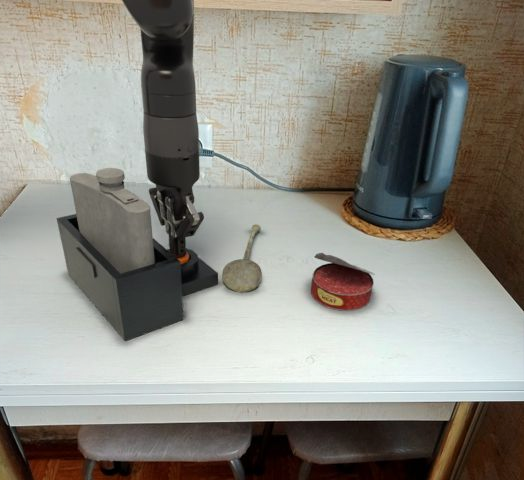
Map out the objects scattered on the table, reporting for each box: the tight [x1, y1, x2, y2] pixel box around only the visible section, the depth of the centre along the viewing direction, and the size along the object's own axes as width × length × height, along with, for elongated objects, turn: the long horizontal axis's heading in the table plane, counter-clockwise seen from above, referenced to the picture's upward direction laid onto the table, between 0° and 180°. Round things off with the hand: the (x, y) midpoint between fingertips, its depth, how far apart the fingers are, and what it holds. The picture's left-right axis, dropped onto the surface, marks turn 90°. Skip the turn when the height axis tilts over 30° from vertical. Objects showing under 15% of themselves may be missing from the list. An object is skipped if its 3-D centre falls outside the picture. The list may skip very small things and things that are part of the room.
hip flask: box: [69, 167, 155, 274], centre depth 73 cm, size 16×4×20 cm, turn 47°
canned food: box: [310, 252, 376, 312], centre depth 82 cm, size 11×10×10 cm
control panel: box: [167, 247, 219, 297], centre depth 83 cm, size 9×10×4 cm
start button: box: [177, 252, 189, 264], centre depth 83 cm, size 4×4×2 cm
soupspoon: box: [221, 223, 263, 293], centre depth 90 cm, size 22×3×7 cm
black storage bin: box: [56, 213, 184, 342], centre depth 76 cm, size 10×21×10 cm, turn 37°
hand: (178, 255), depth 82 cm, fingers closed
